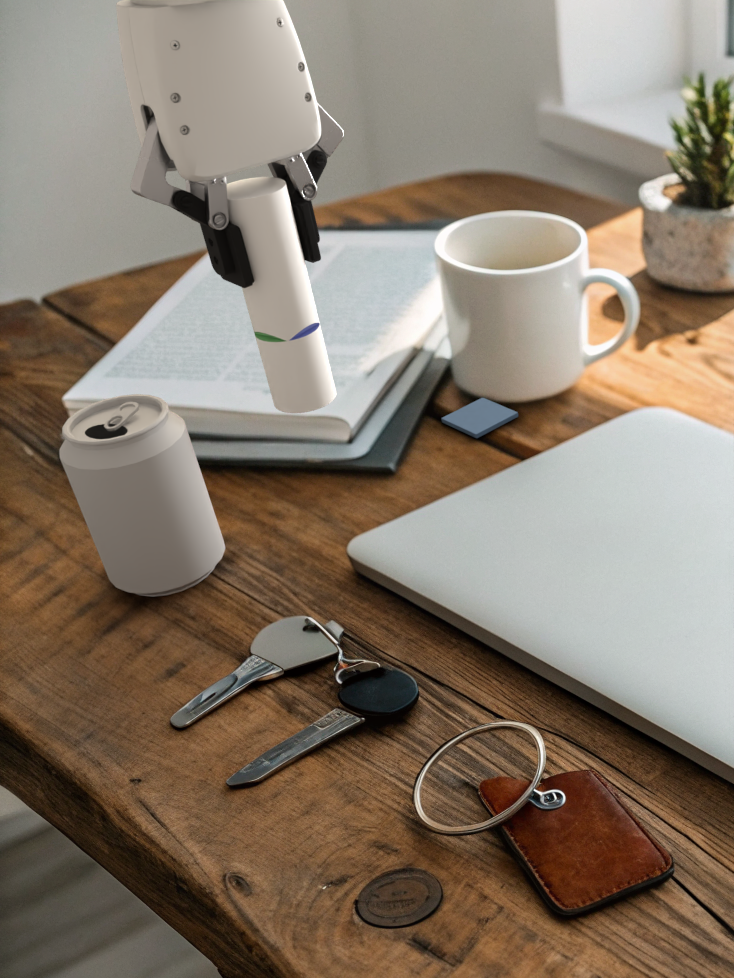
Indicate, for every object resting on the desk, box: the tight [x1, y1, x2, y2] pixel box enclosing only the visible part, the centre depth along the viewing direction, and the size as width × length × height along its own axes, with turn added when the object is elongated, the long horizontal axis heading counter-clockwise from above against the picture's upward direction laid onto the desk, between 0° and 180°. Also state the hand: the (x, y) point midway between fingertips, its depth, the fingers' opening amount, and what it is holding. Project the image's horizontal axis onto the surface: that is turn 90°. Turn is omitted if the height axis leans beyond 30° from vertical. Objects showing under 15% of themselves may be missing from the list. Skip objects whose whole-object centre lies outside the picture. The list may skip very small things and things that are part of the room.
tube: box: [227, 176, 338, 414], centre depth 78 cm, size 4×4×15 cm
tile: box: [440, 397, 519, 439], centre depth 94 cm, size 4×4×1 cm
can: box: [59, 393, 226, 598], centre depth 76 cm, size 8×8×12 cm
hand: (271, 266), depth 77 cm, fingers closed on tube, 4 cm apart
